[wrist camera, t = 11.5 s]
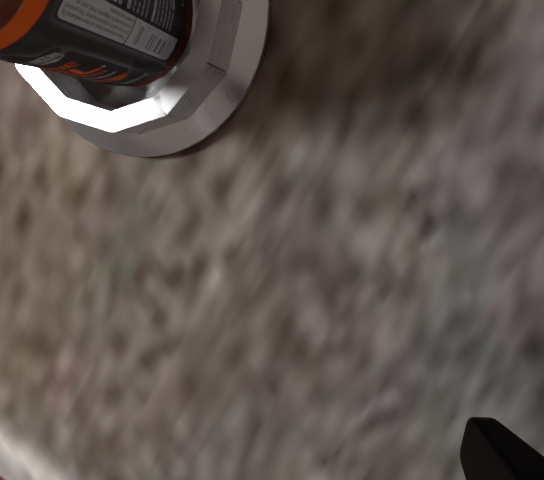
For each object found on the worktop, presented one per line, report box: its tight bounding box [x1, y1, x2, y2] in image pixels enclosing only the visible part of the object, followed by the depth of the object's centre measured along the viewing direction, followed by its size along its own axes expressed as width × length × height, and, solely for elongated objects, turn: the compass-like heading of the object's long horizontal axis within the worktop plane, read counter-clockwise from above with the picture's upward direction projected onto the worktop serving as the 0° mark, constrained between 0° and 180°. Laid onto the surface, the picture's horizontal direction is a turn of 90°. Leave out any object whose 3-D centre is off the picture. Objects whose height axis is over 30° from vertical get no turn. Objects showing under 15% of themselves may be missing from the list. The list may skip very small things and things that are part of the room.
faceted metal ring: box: [16, 0, 271, 157], centre depth 16 cm, size 12×12×2 cm
